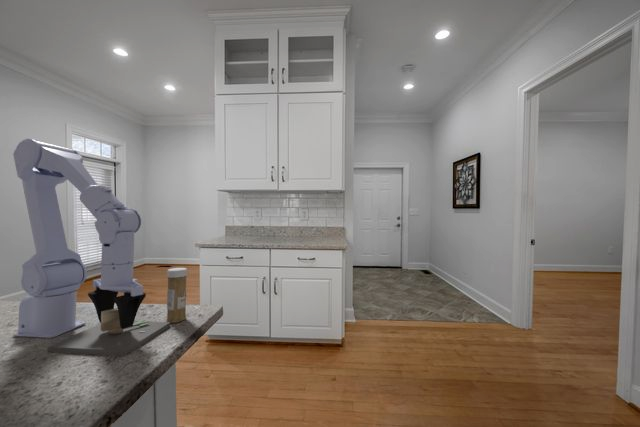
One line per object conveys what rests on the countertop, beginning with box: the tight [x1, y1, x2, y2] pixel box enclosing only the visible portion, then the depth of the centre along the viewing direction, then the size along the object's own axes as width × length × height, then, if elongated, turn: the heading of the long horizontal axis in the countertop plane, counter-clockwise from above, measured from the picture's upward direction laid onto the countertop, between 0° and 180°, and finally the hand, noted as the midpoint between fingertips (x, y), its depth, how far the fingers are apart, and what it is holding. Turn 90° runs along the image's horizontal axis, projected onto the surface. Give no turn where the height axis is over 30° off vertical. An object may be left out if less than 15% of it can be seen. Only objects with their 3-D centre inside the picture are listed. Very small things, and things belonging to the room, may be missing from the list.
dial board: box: [47, 320, 171, 357], centre depth 59 cm, size 16×14×1 cm
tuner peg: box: [101, 307, 150, 334], centre depth 60 cm, size 9×3×5 cm, turn 141°
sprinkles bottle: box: [166, 267, 188, 324], centre depth 69 cm, size 5×5×13 cm
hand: (116, 324), depth 59 cm, fingers open, 7 cm apart
